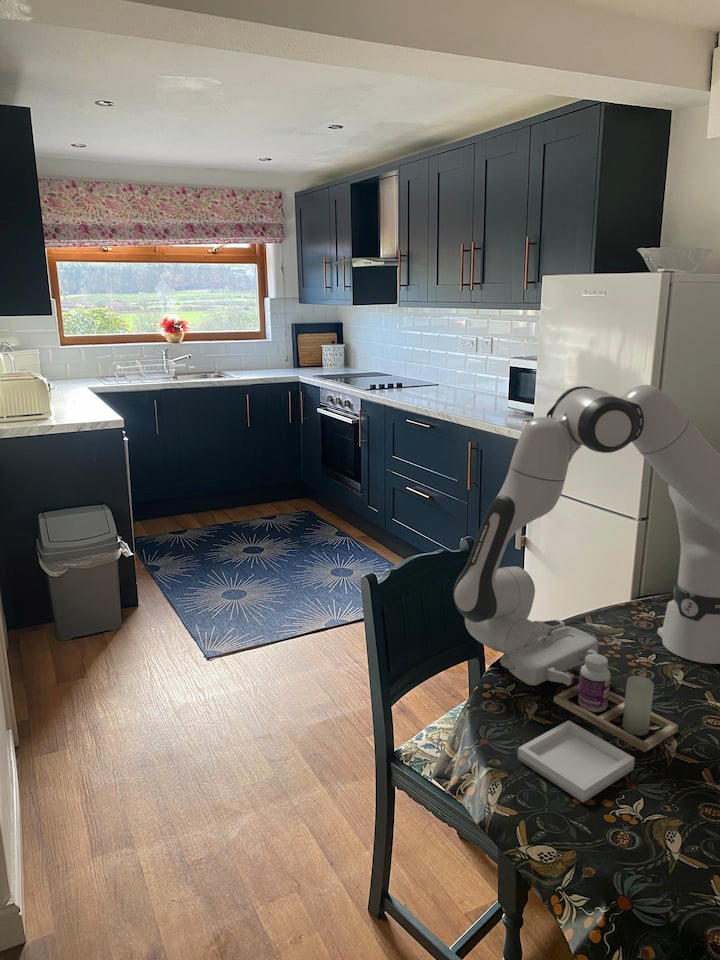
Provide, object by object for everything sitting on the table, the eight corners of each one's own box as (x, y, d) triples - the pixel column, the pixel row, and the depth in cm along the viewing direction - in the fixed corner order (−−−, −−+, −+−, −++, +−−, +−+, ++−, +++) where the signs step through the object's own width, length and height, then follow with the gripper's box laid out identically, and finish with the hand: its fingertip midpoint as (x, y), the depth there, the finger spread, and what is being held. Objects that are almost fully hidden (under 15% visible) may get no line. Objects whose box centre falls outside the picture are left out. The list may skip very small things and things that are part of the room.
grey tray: (567, 731, 125) (568, 720, 125) (633, 769, 115) (634, 757, 115) (517, 759, 118) (518, 747, 117) (583, 802, 108) (584, 790, 107)
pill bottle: (609, 714, 130) (613, 667, 128) (579, 711, 131) (583, 664, 129) (605, 698, 135) (609, 653, 133) (576, 696, 136) (580, 650, 134)
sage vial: (631, 717, 129) (636, 673, 127) (653, 729, 126) (659, 683, 124) (617, 726, 127) (621, 681, 125) (639, 738, 123) (644, 692, 121)
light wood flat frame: (586, 685, 140) (587, 679, 140) (677, 731, 125) (678, 725, 125) (553, 702, 134) (554, 696, 134) (644, 752, 120) (645, 746, 119)
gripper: (495, 645, 137) (553, 675, 126) (563, 617, 149) (622, 642, 138) (494, 674, 139) (551, 706, 128) (561, 644, 150) (619, 671, 140)
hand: (588, 673), depth 133 cm, fingers open, 8 cm apart
